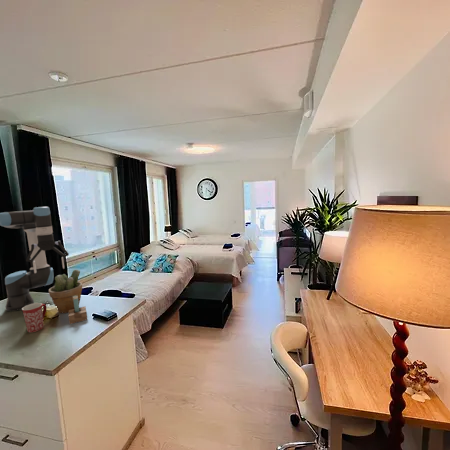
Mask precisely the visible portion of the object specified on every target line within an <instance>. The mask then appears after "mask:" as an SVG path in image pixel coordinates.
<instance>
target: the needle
mask: <svg viewBox="0 0 450 450" xmlns="http://www.w3.org/2000/svg"><path fill="white" fill-rule="evenodd" d="M73 301H74V308H75V313H76V312H80V310H79V308H80V303H78V296H73Z"/></svg>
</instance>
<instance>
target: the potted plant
mask: <svg viewBox="0 0 450 450" xmlns="http://www.w3.org/2000/svg"><path fill="white" fill-rule="evenodd" d="M80 273H81V270H78V269H74V270H72V272H71V275H70V276H69V277H68V275H66V274H65V273H63V274H58V275H56V276H55V277H54V280H55V281H54V285H53V286H52V287H50V288H49V289H48V295H49V297H50V298H51V300H52V303H53V305H54V306H57V308H58V310H57V312H58V313H59V314H69V310H72V309H75V308H74V301H73V296H78V303H79V304H80V302H81V296H82V291H83V283H82V282H81V281H78V280H79V276H80Z"/></svg>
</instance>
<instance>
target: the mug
mask: <svg viewBox="0 0 450 450" xmlns="http://www.w3.org/2000/svg"><path fill="white" fill-rule="evenodd" d="M21 311H22V313H23V318H24V322H25V326H26V331H27V332H28V333H36V332H38V331H41V330H43V328H44V319H45V316H46V313H47V305H46V304H45V303H41V302H34V303H33V304H29V305H27V306H25V307H23V308H22V309H21Z"/></svg>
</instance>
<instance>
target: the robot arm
mask: <svg viewBox="0 0 450 450" xmlns="http://www.w3.org/2000/svg"><path fill="white" fill-rule="evenodd" d="M51 213H52V212H51V210H50V207H49V206H38V207H37V206H35V207H33V209H32V210H31V209H30V210H17V211H4V212H0V226H1V227H4V228H7V229H23V232H25V233H26V236H27V242H28V248H29V249H28V250H29V253H28V254H27V257H26V259H25V262H28V263H30V268H29V271H27V270H19V271H15V272H13V273H10V274H8V275H6V276H5V278H4V285H5V289H6V296H7V300H6V302H5V310H6V311H7V312H15V311H22V308H23V307H25V306H27V305H29V304H33V303H35V300H34V298H33V297H32V295H31V293H30V290H32V289H36V288H41V287H43V286H44V287H46V286H49V285H51V284H53V283H54V279H55V277H54V269H53V267H51V265H50V264H48V261H47V257H46V251H50V250H53V251H54V252H56V253H57V254H58V255H60V256H61V265H62V269H63V270H64V269H65V263H66V262H67V259H66V257H68V256H69V252H68V251H67V250H66V248H65V247H64V245H62V242H61V240H58V241H55V239H54V234H53V233H54V231H53V225H52V224H53V223H52V216H51ZM55 245H57V246H59V248H60V249H61V250H62V251H60V250H59V249H58V248H57V247H56V246H55Z"/></svg>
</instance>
